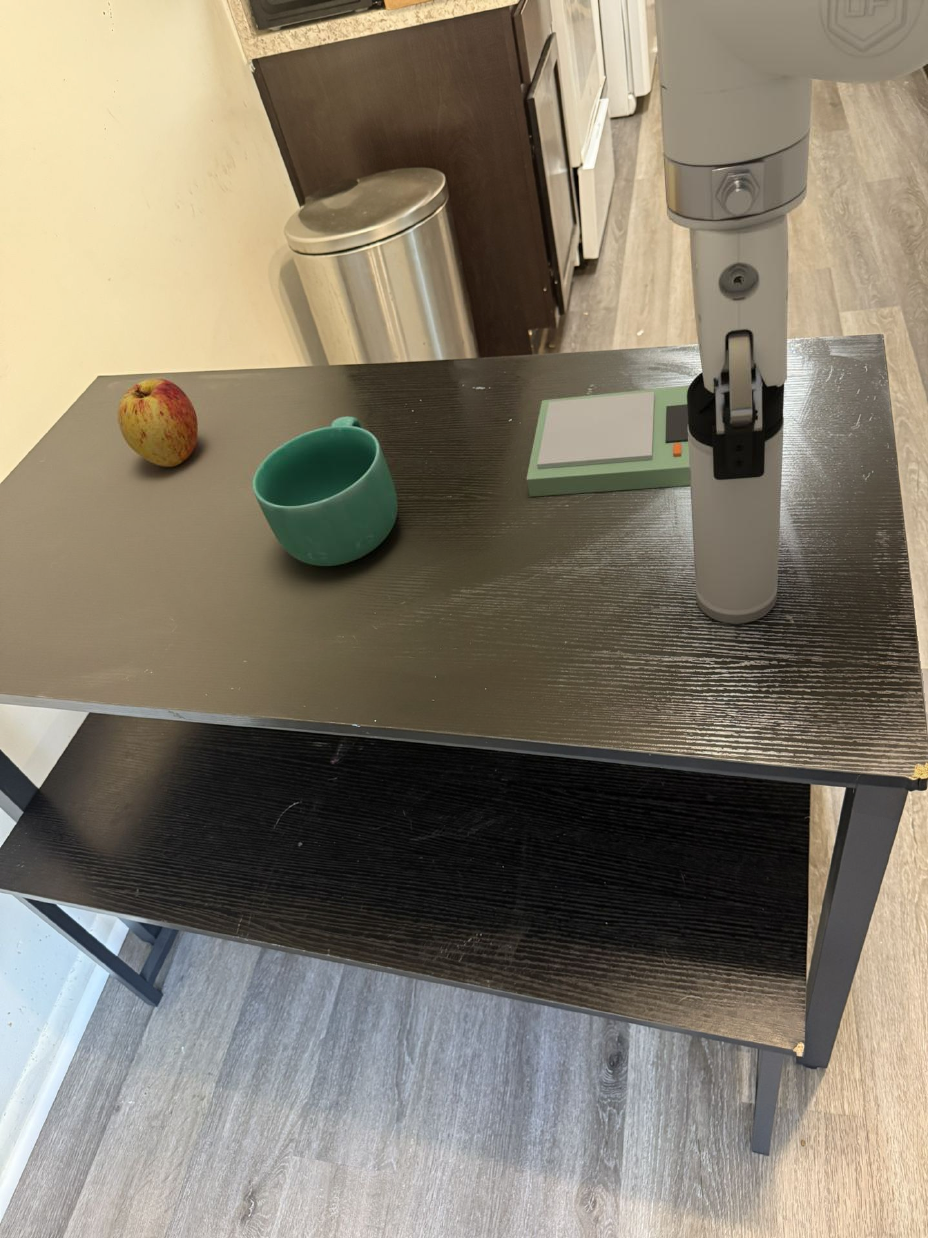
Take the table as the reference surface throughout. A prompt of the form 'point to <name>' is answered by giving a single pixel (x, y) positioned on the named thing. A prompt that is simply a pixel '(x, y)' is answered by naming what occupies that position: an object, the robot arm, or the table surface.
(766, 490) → the travel mug
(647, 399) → the scale
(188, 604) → the table surface
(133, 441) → the apple
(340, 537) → the mug
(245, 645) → the table surface
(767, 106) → the robot arm
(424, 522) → the table surface
